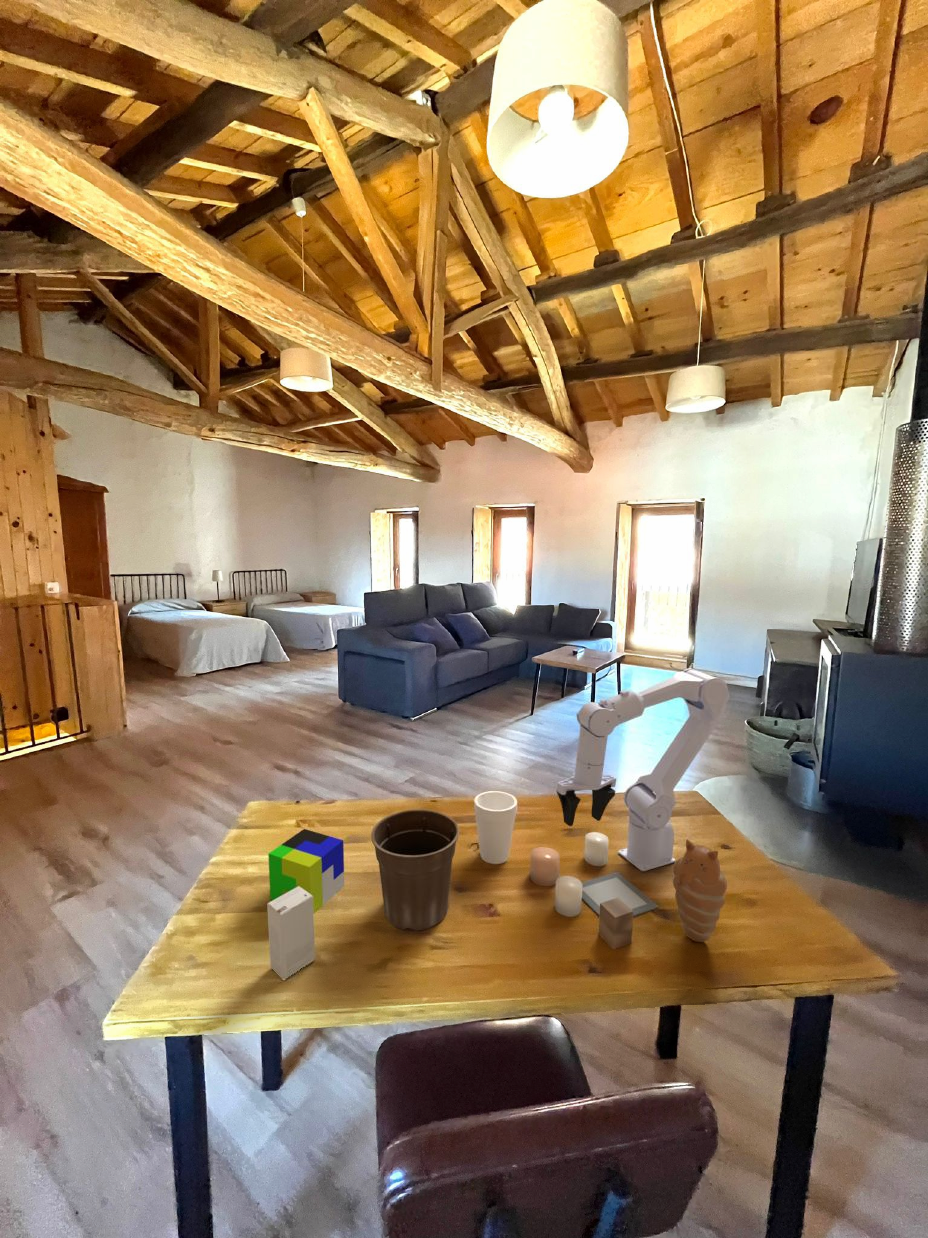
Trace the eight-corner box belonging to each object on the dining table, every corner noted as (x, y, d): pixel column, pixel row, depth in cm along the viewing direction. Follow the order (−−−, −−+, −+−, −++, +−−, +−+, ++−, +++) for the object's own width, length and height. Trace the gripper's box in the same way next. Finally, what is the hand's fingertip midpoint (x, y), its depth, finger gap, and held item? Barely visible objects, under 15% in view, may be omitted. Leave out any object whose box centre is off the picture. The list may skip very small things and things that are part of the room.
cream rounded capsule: (571, 896, 107) (572, 873, 106) (586, 912, 102) (587, 888, 102) (549, 903, 105) (550, 879, 104) (564, 919, 100) (565, 895, 100)
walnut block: (616, 927, 98) (618, 897, 97) (631, 942, 95) (633, 911, 94) (598, 934, 97) (600, 903, 96) (613, 949, 93) (615, 917, 92)
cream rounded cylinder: (597, 851, 123) (599, 830, 122) (612, 863, 118) (613, 841, 118) (579, 855, 121) (580, 835, 120) (593, 868, 116) (594, 846, 116)
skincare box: (301, 948, 93) (299, 883, 91) (316, 961, 90) (314, 894, 88) (268, 969, 88) (265, 901, 86) (283, 984, 85) (280, 914, 83)
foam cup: (513, 871, 115) (514, 813, 113) (470, 865, 117) (471, 808, 115) (517, 846, 124) (518, 793, 122) (478, 841, 126) (478, 789, 124)
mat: (617, 873, 115) (617, 871, 114) (658, 908, 104) (658, 906, 104) (570, 887, 110) (570, 885, 110) (608, 925, 99) (608, 923, 99)
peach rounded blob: (548, 866, 117) (549, 844, 116) (564, 882, 111) (565, 859, 111) (524, 872, 114) (525, 850, 114) (539, 889, 109) (540, 866, 108)
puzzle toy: (344, 886, 109) (343, 840, 108) (311, 916, 100) (309, 867, 99) (305, 873, 114) (304, 828, 112) (270, 901, 105) (268, 853, 103)
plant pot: (412, 955, 91) (411, 867, 89) (355, 911, 102) (353, 831, 100) (475, 908, 103) (477, 829, 101) (418, 873, 114) (418, 801, 112)
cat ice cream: (662, 938, 96) (668, 843, 93) (680, 916, 101) (686, 827, 99) (713, 965, 90) (722, 865, 87) (730, 941, 95) (738, 846, 93)
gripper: (603, 750, 120) (595, 808, 122) (551, 756, 114) (543, 817, 115) (626, 762, 114) (617, 823, 116) (572, 769, 107) (564, 833, 109)
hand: (582, 821), depth 115 cm, fingers open, 7 cm apart
